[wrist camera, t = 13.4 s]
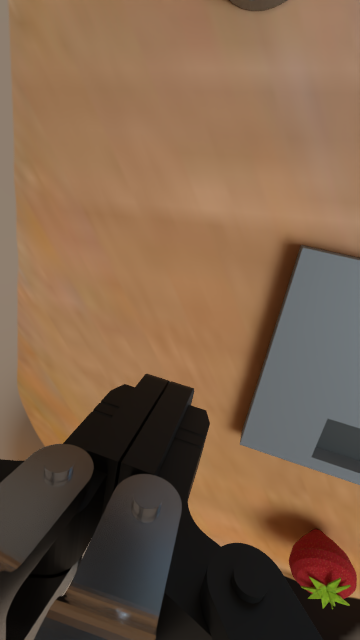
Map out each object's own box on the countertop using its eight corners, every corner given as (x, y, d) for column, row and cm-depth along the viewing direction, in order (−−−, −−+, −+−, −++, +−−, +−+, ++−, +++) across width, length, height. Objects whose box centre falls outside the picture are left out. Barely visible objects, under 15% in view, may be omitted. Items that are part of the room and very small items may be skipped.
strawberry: (294, 503, 45) (298, 580, 36) (354, 524, 43) (375, 609, 34) (282, 535, 47) (283, 615, 38) (339, 555, 46) (355, 643, 36)
